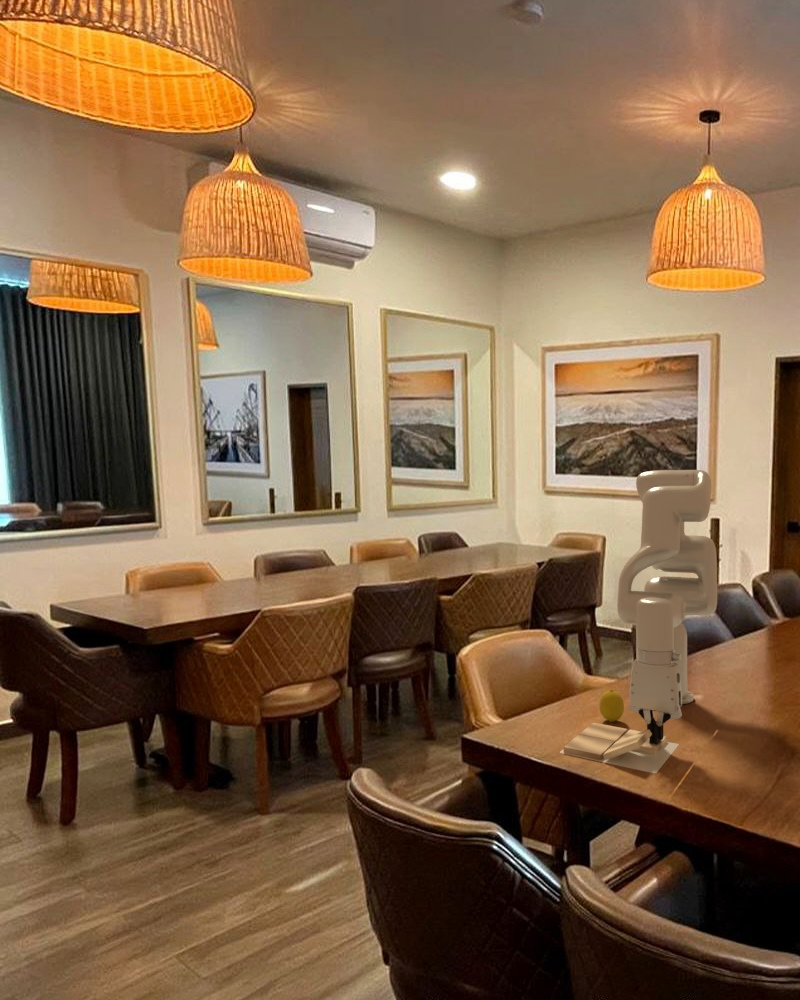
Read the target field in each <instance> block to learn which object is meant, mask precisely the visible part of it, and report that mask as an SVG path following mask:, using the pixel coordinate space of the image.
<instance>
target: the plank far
mask: <svg viewBox="0 0 800 1000" xmlns="http://www.w3.org/2000/svg"><path fill="white" fill-rule="evenodd" d="M640 732H642V731H641V730H640V731H639V730H635V729H628V732H627V733H626V734H625V735H623V736H622V737H621V738H620V739H619V740H621V739H624V738H627V737H629V736H632V735H635V734H637V733H640ZM619 740H618V741H619ZM666 742H668V741H667V735H663V739H662V740H661V741H660V742H659V743H658V744H655V743H650V742H649V738H648V739H647V741H646V742H645V743H644V744H643V745H642V746H641V747H640V748H638V749H635V751H640V752H645V753H650V754H655V755H656V753H657V752H658V751H659V750H660V749H661V748H662V746H663V745H664V744H665V743H666Z"/></svg>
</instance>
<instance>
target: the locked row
mask: <svg viewBox="0 0 800 1000" xmlns="http://www.w3.org/2000/svg"><path fill="white" fill-rule="evenodd" d="M628 731H629V729H628V728H624V727H618V726H613V725H609V724H603V723H598V722H592V723H591V724H589V725H588V726H587V727H585V729H583V730H582V731H581V732H579V733H578V734H577V735H576V736H574V737H573V739H571V740H570V741H569V742H567V743H566V744H565V745H564V746H563V749H564V753H568V754H573V755H577V756H582V757H587V758H591V759H596V760H600V761H601V760H602V759H603V758H604V756H603V754H604V753H605V752H606V751H607V750H608V749H609V748H610V747H611V746H612V745H613V744H614V743H615V742H616V741H618V740H619V739H620V738H621V737H622V736H623V735H625V734H626V733H627V732H628Z"/></svg>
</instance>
